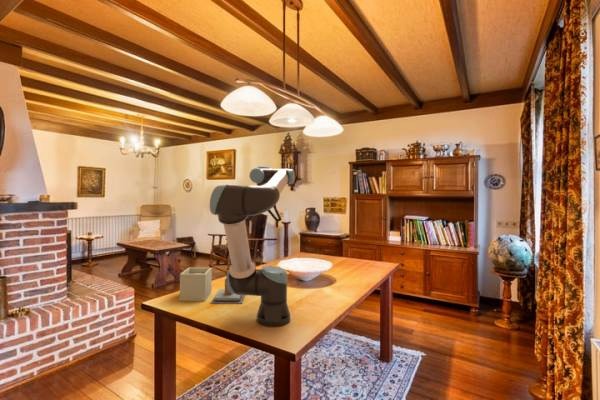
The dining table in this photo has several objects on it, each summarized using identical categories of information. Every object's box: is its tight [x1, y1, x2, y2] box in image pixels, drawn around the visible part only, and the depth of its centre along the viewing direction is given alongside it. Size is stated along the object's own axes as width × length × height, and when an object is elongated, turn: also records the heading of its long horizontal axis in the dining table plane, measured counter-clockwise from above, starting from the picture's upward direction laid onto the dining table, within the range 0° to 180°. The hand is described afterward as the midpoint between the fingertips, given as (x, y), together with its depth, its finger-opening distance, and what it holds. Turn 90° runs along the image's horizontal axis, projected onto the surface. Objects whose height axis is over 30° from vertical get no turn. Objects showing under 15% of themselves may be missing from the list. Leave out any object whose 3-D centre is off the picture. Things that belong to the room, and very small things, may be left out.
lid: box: [213, 278, 241, 301], centre depth 158 cm, size 13×13×10 cm
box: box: [179, 267, 213, 302], centre depth 160 cm, size 13×13×14 cm
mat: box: [209, 291, 246, 305], centre depth 159 cm, size 16×16×1 cm
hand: (262, 233), depth 162 cm, fingers open, 13 cm apart
